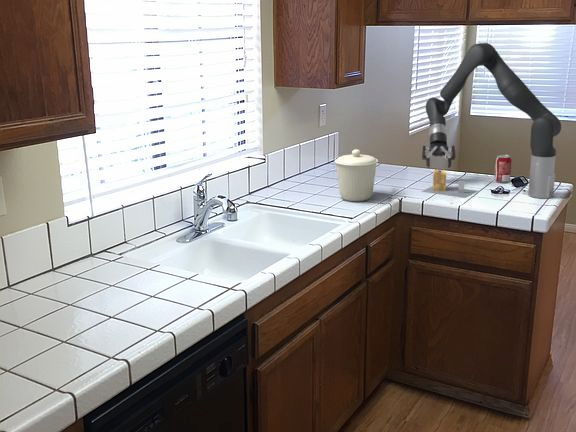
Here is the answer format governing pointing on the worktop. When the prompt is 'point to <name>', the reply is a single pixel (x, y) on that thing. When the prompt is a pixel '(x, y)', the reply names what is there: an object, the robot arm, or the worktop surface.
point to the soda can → (503, 169)
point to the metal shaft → (461, 187)
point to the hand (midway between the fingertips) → (438, 166)
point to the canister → (356, 176)
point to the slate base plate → (451, 192)
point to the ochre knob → (439, 180)
